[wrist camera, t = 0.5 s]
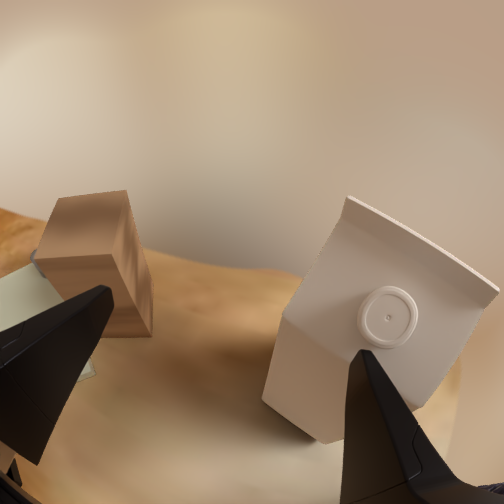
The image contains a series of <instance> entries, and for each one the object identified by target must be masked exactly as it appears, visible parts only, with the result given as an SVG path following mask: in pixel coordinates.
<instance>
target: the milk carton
mask: <svg viewBox="0 0 504 504" xmlns="http://www.w3.org/2000/svg"><path fill="white" fill-rule="evenodd" d="M498 294H499V288H498V287H497V286H496V285H494V284H493V283H492V282H490V281H489V280H487V279H486V278H485V277H483V276H482V275H481V274H479V273H478V272H476V271H475V270H474V269H472V268H471V267H469V266H468V265H466V264H465V263H463V262H462V261H460V260H459V259H457V258H456V257H454V256H453V255H452V254H450V253H449V252H447V251H445V250H444V249H442V248H441V247H439V246H438V245H436V244H434V243H433V242H431V241H430V240H428V239H426V238H425V237H423V236H422V235H420V234H418V233H417V232H415V231H413V230H412V229H410V228H408V227H407V226H405V225H403V224H401V223H400V222H398V221H396V220H394V219H393V218H391V217H389V216H387V215H385V214H384V213H382V212H380V211H378V210H376V209H375V208H373V207H371V206H369V205H367V204H365V203H363V202H361V201H360V200H358V199H356V198H354V197H352V196H350V195H349V196H347V197H346V199H345V203H344V207H343V210H342V214H341V217H340V219H339V221H338V223H337V224H336V226H335V228H334V229H333V231H332V233H331V235H330V236H329V238H328V240H327V242H326V243H325V245H324V247H323V248H322V250H321V252H320V253H319V255H318V257H317V258H316V260H315V262H314V263H313V265H312V266H311V268H310V270H309V271H308V273H307V275H306V276H305V278H304V279H303V281H302V283H301V284H300V286H299V287H298V289H297V291H296V292H295V294H294V295H293V297H292V299H291V300H290V302H289V303H288V305H287V306H286V308H285V309H284V311H283V313H282V318H281V321H280V325H279V329H278V334H277V338H276V342H275V346H274V351H273V355H272V359H271V363H270V367H269V371H268V375H267V379H266V383H265V387H264V391H263V395H262V400H263V401H264V402H265V403H266V404H267V405H269V406H270V407H271V408H273V409H274V410H275V411H277V412H278V413H279V414H281V415H282V416H283V417H285V418H286V419H288V420H289V421H290V422H292V423H293V424H294V425H296V426H297V427H299V428H300V429H302V430H303V431H304V432H306V433H307V434H309V435H310V436H312V437H313V438H315V439H316V440H318V441H319V442H321V443H323V444H329V443H332V442H336V441H339V440H342V439H344V425H345V400H346V391H347V382H348V372H349V366H350V363H351V361H352V360H353V358H354V357H355V355H356V354H357V352H358V351H359V350H360V349H365V350H370V351H372V352H373V354H374V355H375V357H376V358H377V360H378V361H379V363H380V364H381V366H382V367H383V369H384V370H385V372H386V373H387V375H388V376H389V378H390V379H391V381H392V383H393V384H394V386H395V387H396V389H397V390H398V392H399V393H400V395H401V396H402V398H403V400H404V401H405V403H406V404H407V406H408V407H409V409H410V411H411V412H413V411H415V410H417V409H419V408H421V407H423V406H424V404H425V403H426V402H427V401H428V399H429V398H430V397H431V395H432V394H433V393H434V391H435V390H436V389H437V387H438V386H439V385H440V383H441V382H442V380H443V379H444V377H445V376H446V375H447V373H448V372H449V370H450V369H451V367H452V366H453V364H454V362H455V361H456V359H457V358H458V356H459V355H460V353H461V351H462V350H463V348H464V346H465V345H466V343H467V341H468V339H469V338H470V336H471V334H472V332H473V331H474V329H475V327H476V325H477V323H478V321H479V319H480V317H481V315H482V313H483V311H484V309H485V308H486V307H487V306H488V305H489V304H490V303H491V301H492V300H493V299H494V298H495V297H496V296H497V295H498Z"/></svg>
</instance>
